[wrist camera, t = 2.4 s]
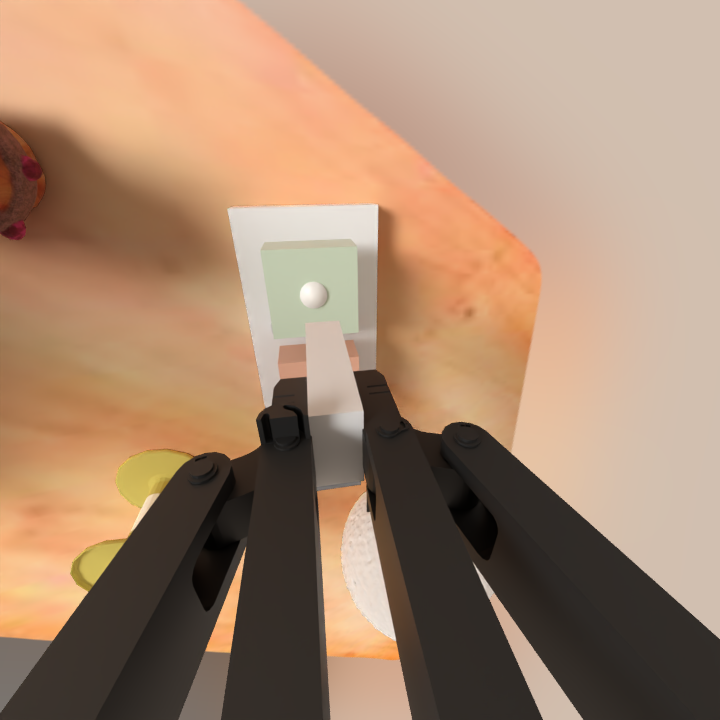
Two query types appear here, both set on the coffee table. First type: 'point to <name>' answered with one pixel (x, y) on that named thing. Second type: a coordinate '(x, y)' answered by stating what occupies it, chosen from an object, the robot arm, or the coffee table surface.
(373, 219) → the board
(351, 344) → the tile terracotta
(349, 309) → the tile sage
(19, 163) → the mug
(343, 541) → the white rounded lump
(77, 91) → the coffee table surface
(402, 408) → the coffee table surface
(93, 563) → the candle
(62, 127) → the coffee table surface
